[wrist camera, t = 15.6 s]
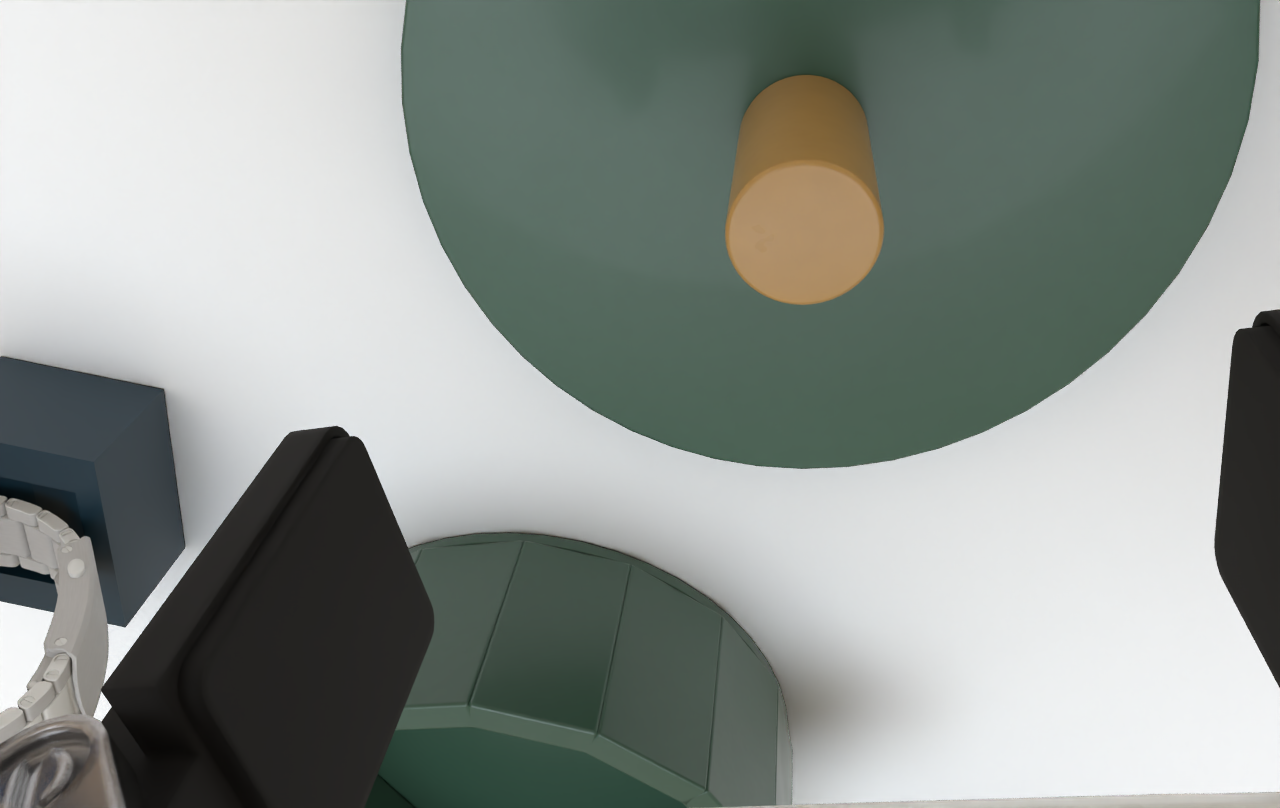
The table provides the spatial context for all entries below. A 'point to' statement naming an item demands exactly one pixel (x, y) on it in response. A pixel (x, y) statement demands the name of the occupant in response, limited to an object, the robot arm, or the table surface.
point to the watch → (80, 521)
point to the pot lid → (821, 200)
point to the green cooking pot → (580, 688)
